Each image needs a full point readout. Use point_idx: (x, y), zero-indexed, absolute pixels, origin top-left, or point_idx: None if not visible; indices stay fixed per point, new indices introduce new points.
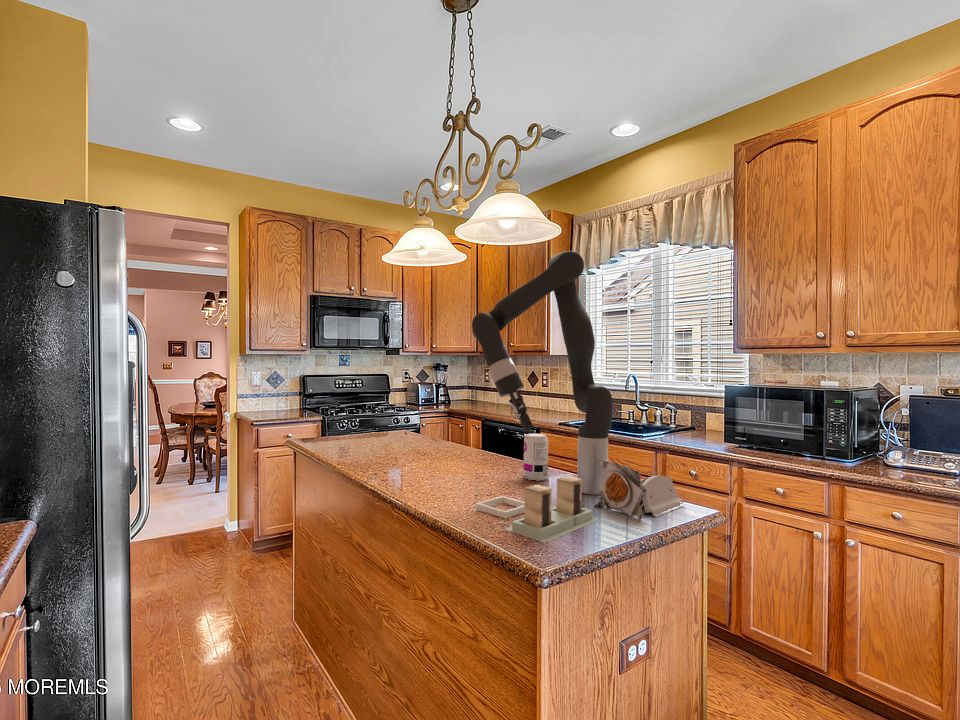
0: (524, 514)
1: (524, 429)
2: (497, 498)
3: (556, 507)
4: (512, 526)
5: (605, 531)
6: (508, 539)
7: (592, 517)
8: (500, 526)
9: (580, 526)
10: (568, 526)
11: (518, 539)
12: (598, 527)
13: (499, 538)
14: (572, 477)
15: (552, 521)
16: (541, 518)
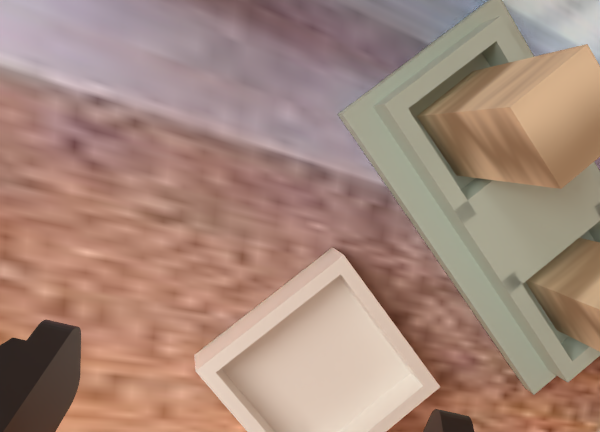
0: (597, 349)
1: (66, 404)
2: (238, 398)
3: (436, 164)
4: (557, 374)
5: (569, 20)
6: (576, 381)
7: (485, 22)
8: (461, 393)
9: None
10: None
11: None
12: (528, 27)
13: (563, 408)
14: (549, 87)
15: (583, 232)
16: None
